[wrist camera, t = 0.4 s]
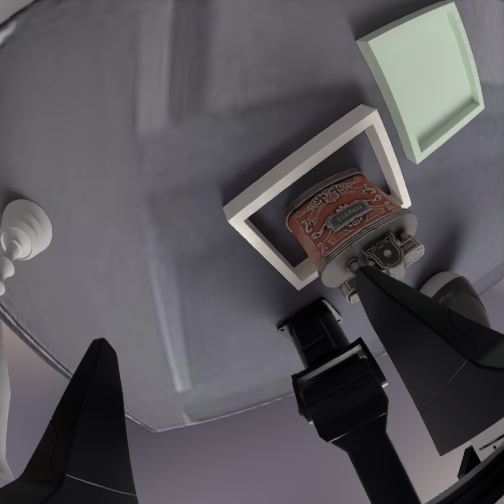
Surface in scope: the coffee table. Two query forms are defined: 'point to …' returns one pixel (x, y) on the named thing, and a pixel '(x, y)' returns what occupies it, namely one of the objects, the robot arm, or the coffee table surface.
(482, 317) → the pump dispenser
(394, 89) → the tray
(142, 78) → the coffee table surface
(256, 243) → the white picture frame
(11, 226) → the chalice
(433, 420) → the robot arm
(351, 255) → the lighter
